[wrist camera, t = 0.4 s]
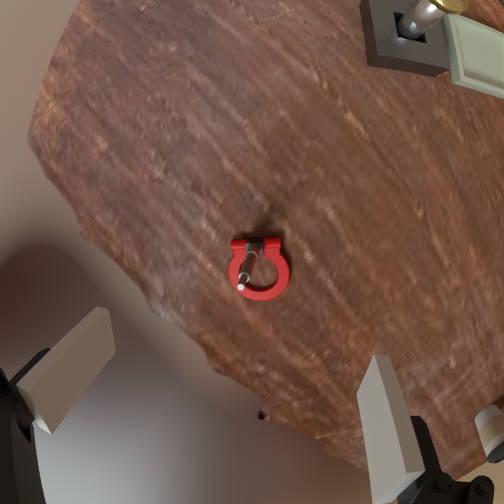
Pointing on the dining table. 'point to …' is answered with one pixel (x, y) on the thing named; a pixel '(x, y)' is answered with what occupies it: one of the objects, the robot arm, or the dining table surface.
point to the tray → (475, 54)
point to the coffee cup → (491, 432)
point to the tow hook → (248, 254)
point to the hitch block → (401, 40)
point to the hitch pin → (426, 16)
